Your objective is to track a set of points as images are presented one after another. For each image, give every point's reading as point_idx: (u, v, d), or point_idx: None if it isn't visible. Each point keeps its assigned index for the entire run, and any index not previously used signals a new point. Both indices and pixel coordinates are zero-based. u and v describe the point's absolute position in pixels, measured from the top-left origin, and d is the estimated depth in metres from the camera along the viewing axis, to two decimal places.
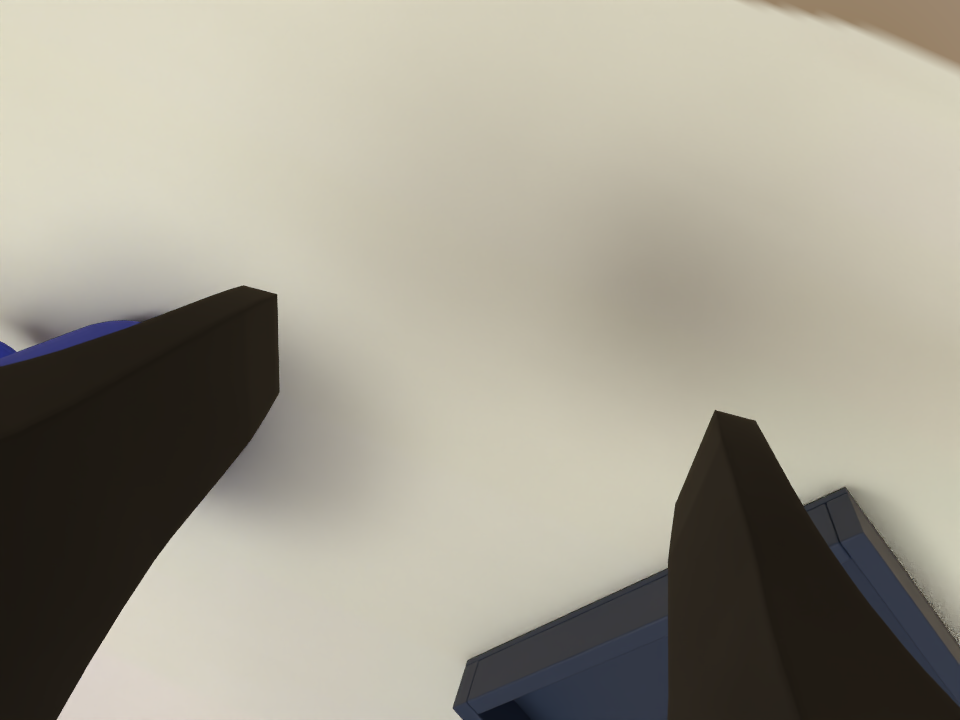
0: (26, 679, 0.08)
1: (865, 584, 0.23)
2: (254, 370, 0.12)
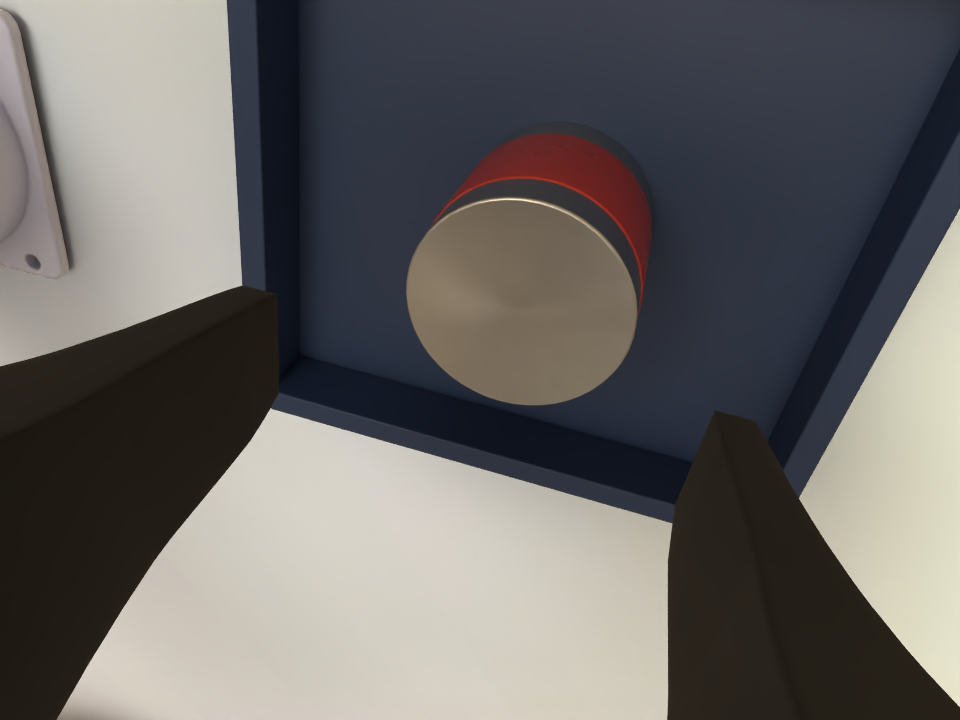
0: (26, 679, 0.08)
1: (900, 112, 0.15)
2: (254, 370, 0.12)
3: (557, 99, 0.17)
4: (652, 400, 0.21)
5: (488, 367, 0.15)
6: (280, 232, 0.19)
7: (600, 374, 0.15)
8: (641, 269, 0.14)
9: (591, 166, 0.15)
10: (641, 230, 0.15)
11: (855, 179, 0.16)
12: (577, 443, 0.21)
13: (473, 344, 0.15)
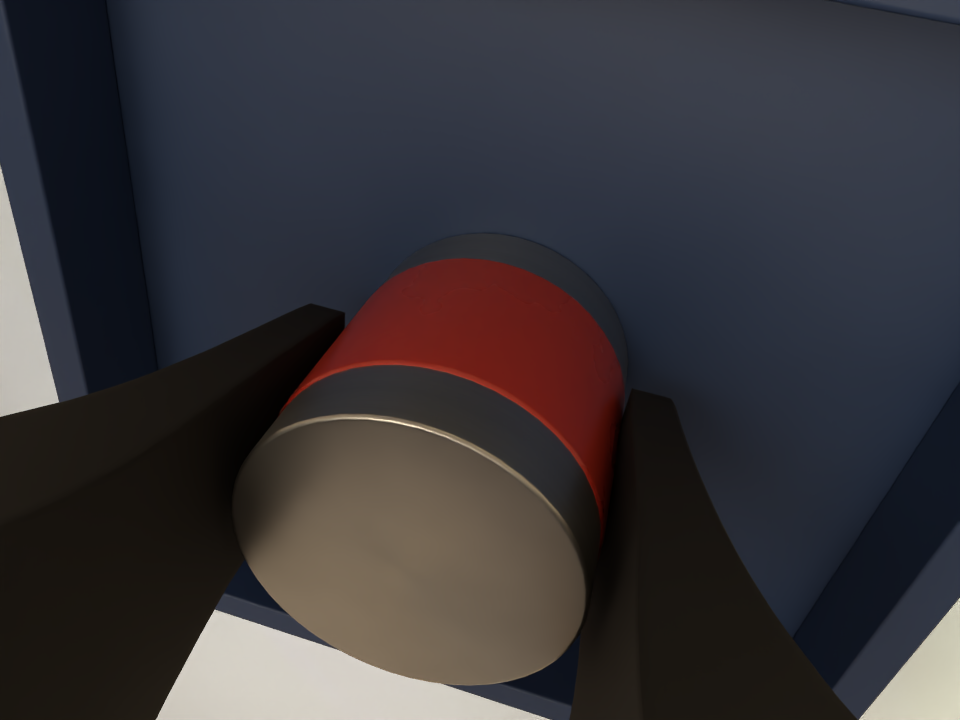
0: (118, 711, 0.08)
1: None
2: None
3: (489, 203, 0.12)
4: None
5: (368, 632, 0.10)
6: (118, 367, 0.14)
7: (537, 660, 0.09)
8: (600, 501, 0.09)
9: (525, 323, 0.10)
10: (603, 423, 0.10)
11: (929, 329, 0.11)
12: None
13: (342, 602, 0.10)
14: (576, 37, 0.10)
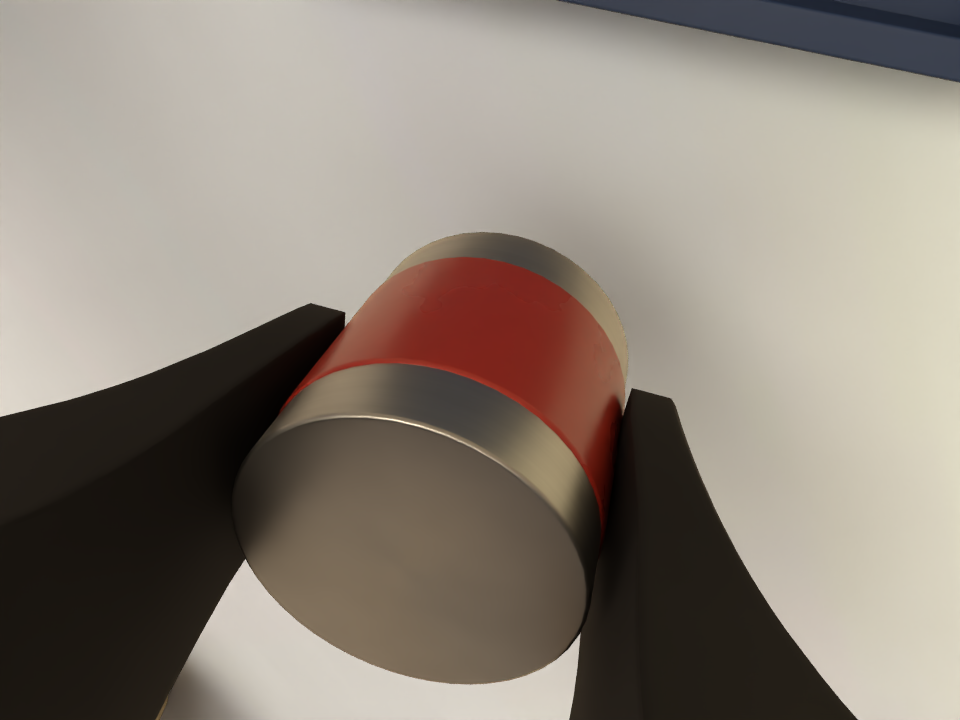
0: (118, 711, 0.08)
1: None
2: None
3: None
4: None
5: (368, 631, 0.10)
6: None
7: (537, 659, 0.09)
8: (601, 499, 0.09)
9: (526, 322, 0.10)
10: (604, 421, 0.10)
11: None
12: None
13: (342, 601, 0.10)
14: None
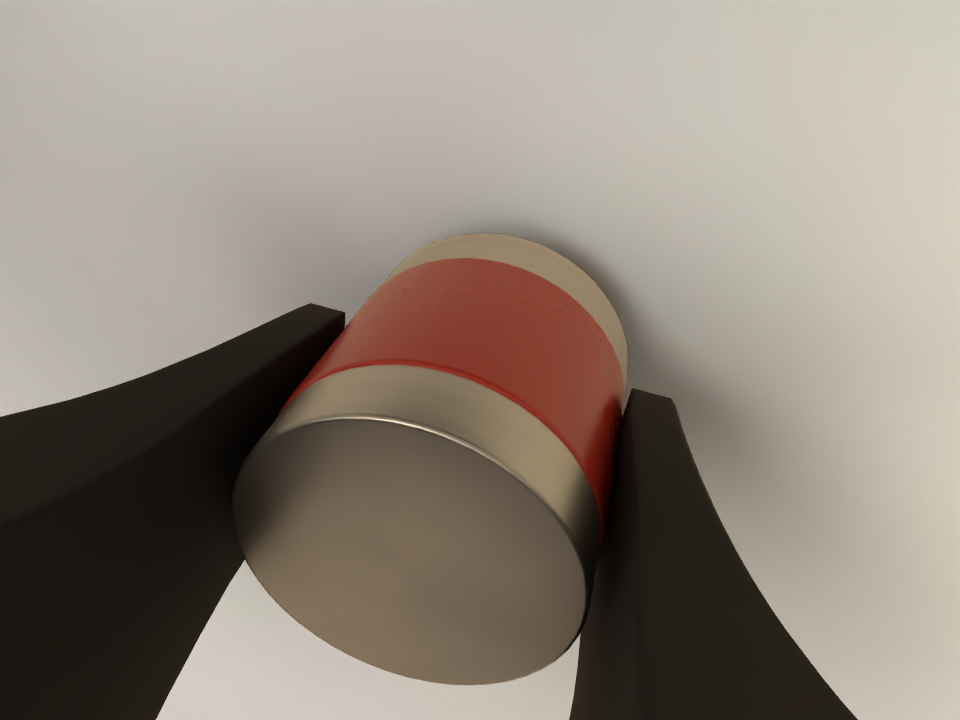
0: (118, 711, 0.08)
1: None
2: None
3: None
4: None
5: (368, 632, 0.10)
6: None
7: (537, 660, 0.09)
8: (600, 501, 0.09)
9: (526, 323, 0.10)
10: (603, 423, 0.10)
11: None
12: None
13: (342, 602, 0.10)
14: None
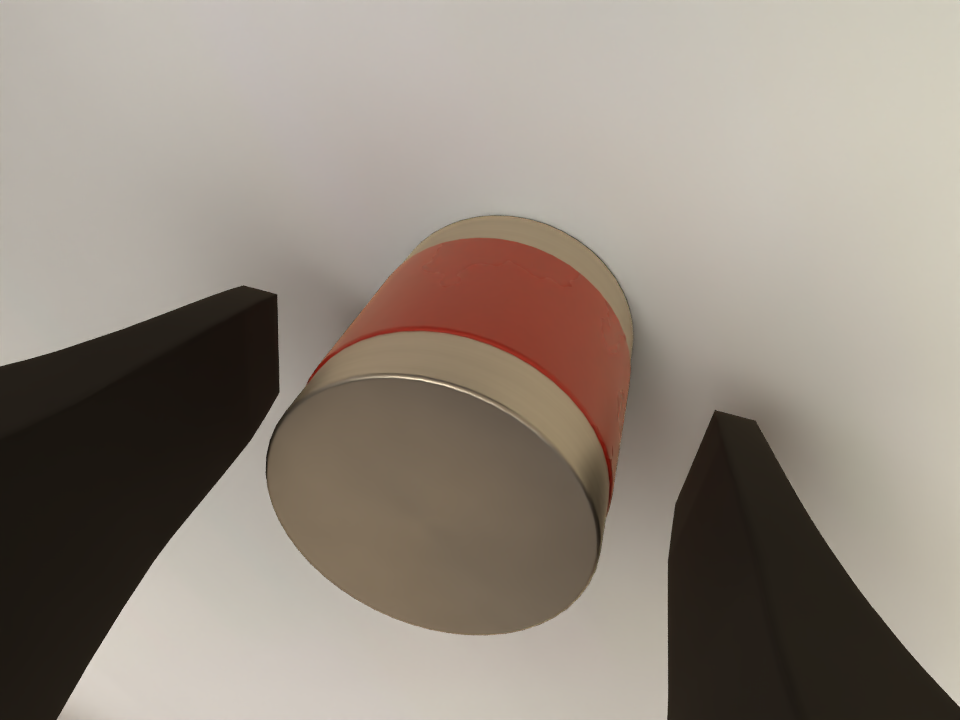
0: (26, 679, 0.08)
1: None
2: (254, 370, 0.12)
3: None
4: None
5: (391, 585, 0.11)
6: None
7: (550, 608, 0.10)
8: (609, 459, 0.10)
9: (539, 296, 0.10)
10: (611, 389, 0.10)
11: None
12: None
13: (367, 556, 0.10)
14: None
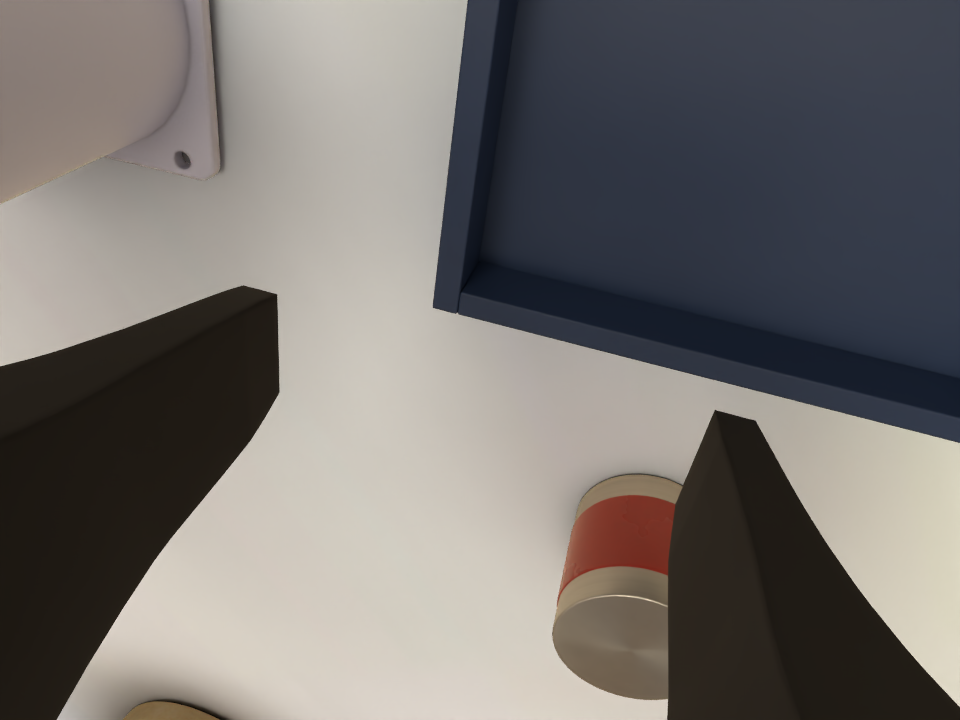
0: (26, 679, 0.08)
1: None
2: (254, 370, 0.12)
3: None
4: (897, 298, 0.18)
5: (603, 674, 0.22)
6: (494, 102, 0.17)
7: None
8: None
9: None
10: None
11: None
12: (803, 350, 0.19)
13: (595, 661, 0.22)
14: None
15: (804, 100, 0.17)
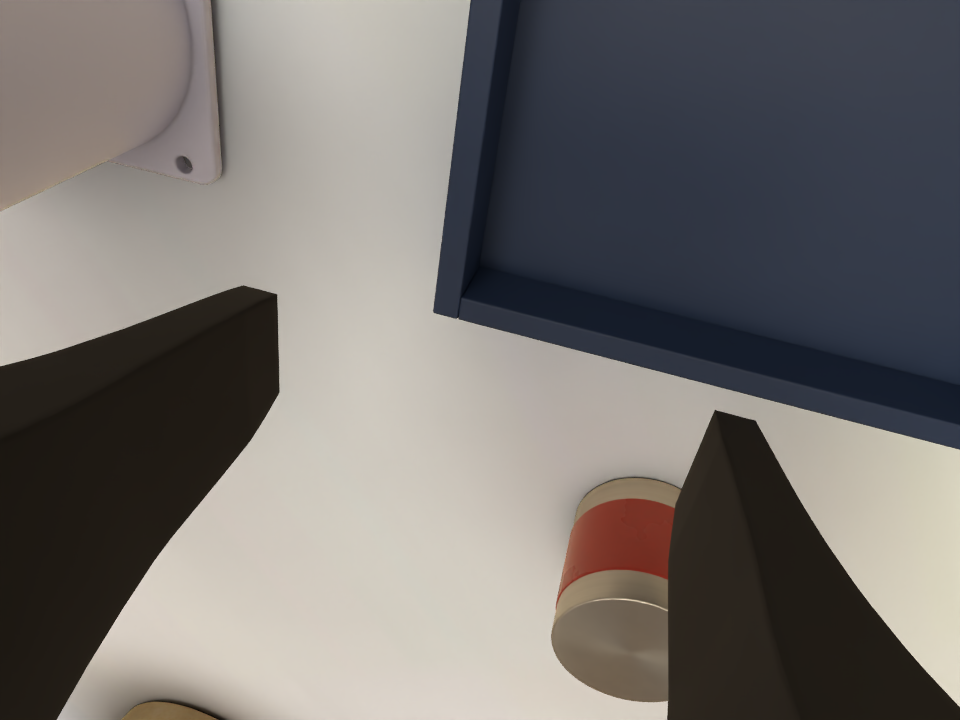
0: (26, 679, 0.08)
1: None
2: (254, 370, 0.12)
3: None
4: (894, 304, 0.19)
5: (602, 676, 0.22)
6: (495, 109, 0.17)
7: None
8: None
9: None
10: None
11: None
12: (801, 356, 0.19)
13: (594, 663, 0.22)
14: None
15: (802, 109, 0.17)
